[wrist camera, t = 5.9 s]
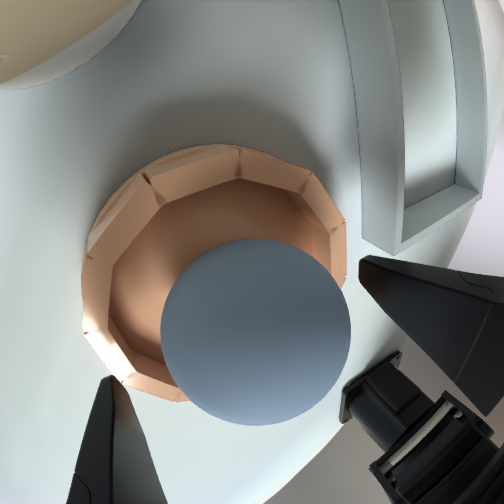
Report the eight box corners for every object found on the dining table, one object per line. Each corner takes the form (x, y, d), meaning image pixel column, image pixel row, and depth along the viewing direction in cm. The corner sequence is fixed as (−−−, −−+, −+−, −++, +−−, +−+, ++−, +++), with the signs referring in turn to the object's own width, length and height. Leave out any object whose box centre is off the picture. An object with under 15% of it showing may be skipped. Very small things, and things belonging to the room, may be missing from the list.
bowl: (322, 312, 16) (346, 333, 14) (148, 396, 13) (158, 428, 11) (305, 117, 11) (341, 121, 9) (35, 208, 8) (20, 230, 6)
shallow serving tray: (457, 188, 18) (481, 198, 16) (362, 238, 15) (393, 256, 13) (442, -15, 10) (469, -16, 8) (321, -61, 7) (356, -76, 5)
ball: (275, 190, 10) (405, 259, 6) (292, 309, 13) (377, 393, 9) (119, 251, 9) (152, 391, 4) (176, 364, 12) (231, 479, 7)
